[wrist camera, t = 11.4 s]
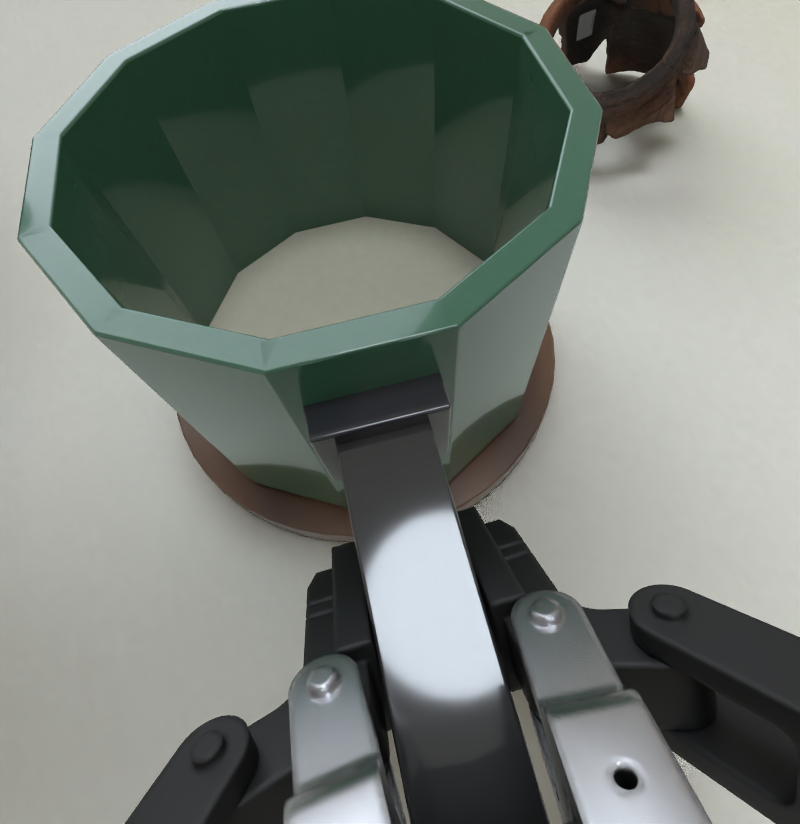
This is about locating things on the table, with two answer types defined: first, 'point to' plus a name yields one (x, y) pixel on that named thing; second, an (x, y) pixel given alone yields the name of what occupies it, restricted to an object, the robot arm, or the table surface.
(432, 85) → the pot
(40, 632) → the table surface
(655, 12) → the brown ring-shaped piece
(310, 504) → the disc
